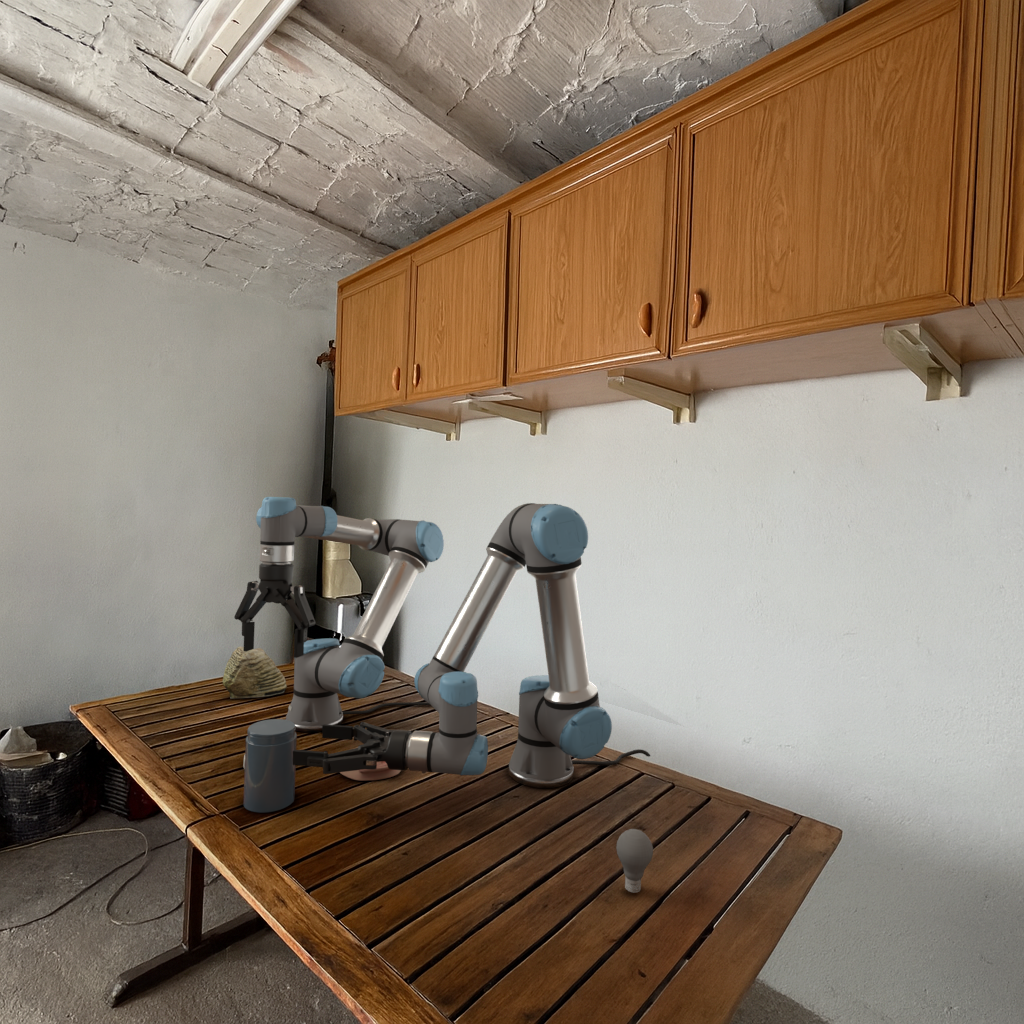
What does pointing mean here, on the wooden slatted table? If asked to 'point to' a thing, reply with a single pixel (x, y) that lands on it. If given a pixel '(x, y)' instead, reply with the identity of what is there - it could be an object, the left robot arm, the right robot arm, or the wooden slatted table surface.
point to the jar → (269, 765)
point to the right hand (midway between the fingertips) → (308, 743)
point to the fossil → (252, 675)
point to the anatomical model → (372, 773)
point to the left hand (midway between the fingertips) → (273, 653)
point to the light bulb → (634, 857)
